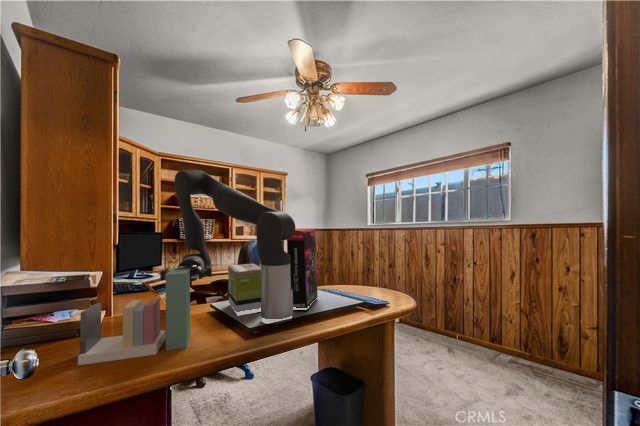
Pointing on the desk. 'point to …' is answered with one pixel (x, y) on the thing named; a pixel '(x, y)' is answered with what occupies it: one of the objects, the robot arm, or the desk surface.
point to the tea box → (244, 287)
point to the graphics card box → (303, 267)
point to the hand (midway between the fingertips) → (184, 276)
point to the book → (177, 309)
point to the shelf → (117, 351)
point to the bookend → (90, 327)
